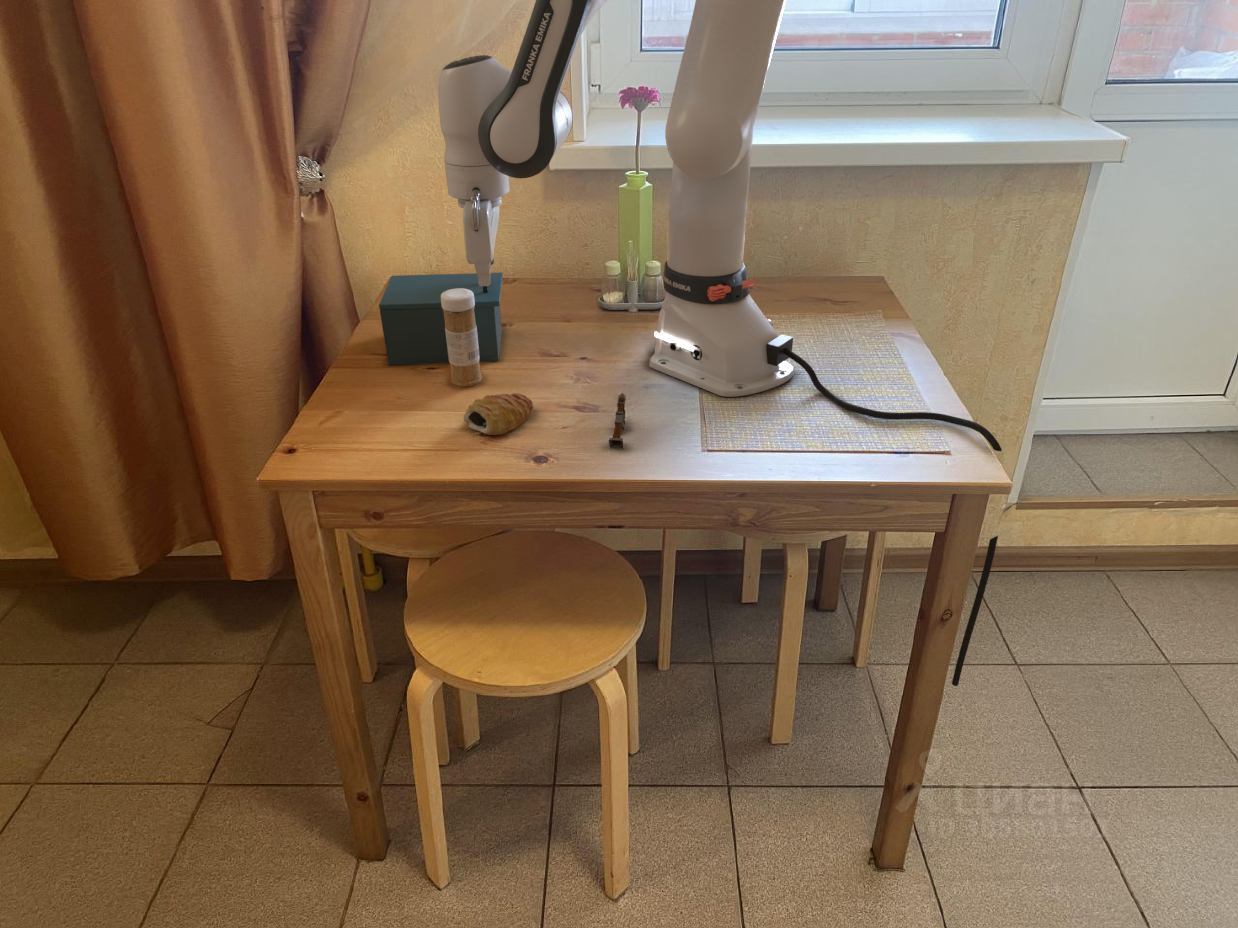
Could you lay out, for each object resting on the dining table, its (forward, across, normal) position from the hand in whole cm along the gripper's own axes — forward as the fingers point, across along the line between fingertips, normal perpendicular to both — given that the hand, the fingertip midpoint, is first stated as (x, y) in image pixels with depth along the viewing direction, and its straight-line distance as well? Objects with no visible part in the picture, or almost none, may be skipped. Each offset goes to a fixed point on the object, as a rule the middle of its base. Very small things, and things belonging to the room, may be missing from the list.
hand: (486, 273), depth 133 cm
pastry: (+12, -26, -2) cm, 28 cm away
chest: (+12, 0, +7) cm, 14 cm away
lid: (+3, 0, +7) cm, 7 cm away
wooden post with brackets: (+12, -31, -18) cm, 37 cm away
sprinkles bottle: (+12, -13, +3) cm, 18 cm away
